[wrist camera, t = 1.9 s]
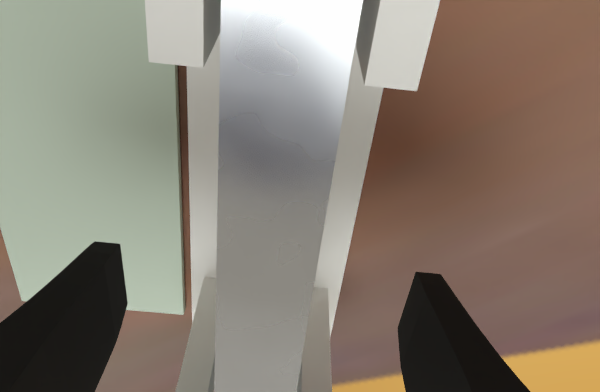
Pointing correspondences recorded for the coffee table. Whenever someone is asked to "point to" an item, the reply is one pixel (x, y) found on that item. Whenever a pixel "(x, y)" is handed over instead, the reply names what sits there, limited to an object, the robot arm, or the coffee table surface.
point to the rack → (347, 170)
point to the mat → (89, 146)
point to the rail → (275, 178)
